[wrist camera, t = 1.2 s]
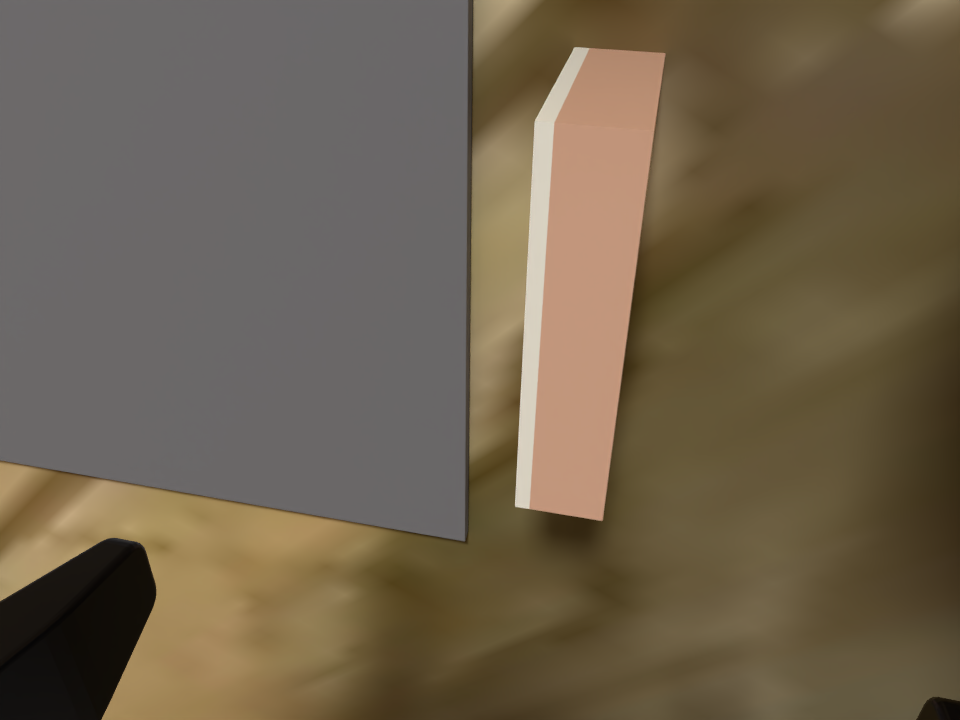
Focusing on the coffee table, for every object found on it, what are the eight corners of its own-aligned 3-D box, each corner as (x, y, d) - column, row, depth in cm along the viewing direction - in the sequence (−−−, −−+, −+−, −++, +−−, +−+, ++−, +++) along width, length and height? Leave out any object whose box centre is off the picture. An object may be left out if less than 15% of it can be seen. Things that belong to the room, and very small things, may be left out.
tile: (665, 52, 16) (654, 131, 12) (621, 383, 21) (602, 521, 17) (575, 46, 17) (535, 120, 13) (550, 373, 21) (514, 506, 17)
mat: (473, -69, 16) (468, -66, 16) (468, 531, 25) (465, 541, 24) (-292, -102, 19) (-310, -101, 19) (-54, 441, 28) (-63, 449, 28)
